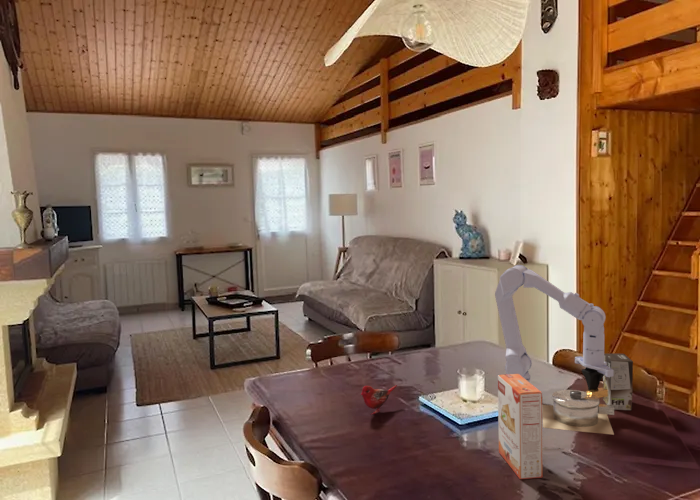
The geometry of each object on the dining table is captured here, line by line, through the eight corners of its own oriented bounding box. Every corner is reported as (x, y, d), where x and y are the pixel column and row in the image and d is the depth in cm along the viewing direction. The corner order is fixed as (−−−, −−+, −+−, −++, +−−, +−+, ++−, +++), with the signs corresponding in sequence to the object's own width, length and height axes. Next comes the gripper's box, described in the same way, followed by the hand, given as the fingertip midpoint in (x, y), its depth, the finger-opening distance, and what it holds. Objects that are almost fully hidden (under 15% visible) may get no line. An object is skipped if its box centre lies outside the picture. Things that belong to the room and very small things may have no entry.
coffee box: (632, 414, 162) (633, 361, 161) (609, 413, 164) (610, 360, 162) (624, 403, 171) (624, 353, 170) (602, 402, 173) (602, 352, 171)
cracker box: (496, 453, 140) (496, 373, 138) (519, 451, 140) (519, 372, 138) (518, 480, 126) (518, 392, 124) (543, 478, 126) (543, 391, 125)
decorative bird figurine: (357, 419, 164) (356, 386, 164) (394, 402, 177) (393, 372, 176) (365, 421, 162) (364, 388, 162) (401, 404, 175) (400, 374, 175)
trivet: (543, 431, 152) (543, 427, 152) (541, 408, 169) (541, 404, 169) (614, 438, 146) (614, 434, 146) (605, 413, 163) (605, 410, 163)
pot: (554, 424, 154) (554, 407, 153) (552, 409, 165) (552, 393, 165) (616, 430, 149) (616, 412, 148) (610, 414, 160) (610, 397, 160)
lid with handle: (574, 411, 149) (574, 402, 149) (543, 396, 161) (543, 388, 160) (622, 402, 155) (622, 393, 155) (588, 388, 167) (588, 380, 166)
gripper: (622, 353, 154) (622, 400, 155) (589, 341, 168) (588, 384, 169) (601, 355, 152) (600, 402, 154) (569, 343, 166) (568, 386, 168)
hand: (593, 393), depth 161 cm, fingers closed, pressing on lid with handle
